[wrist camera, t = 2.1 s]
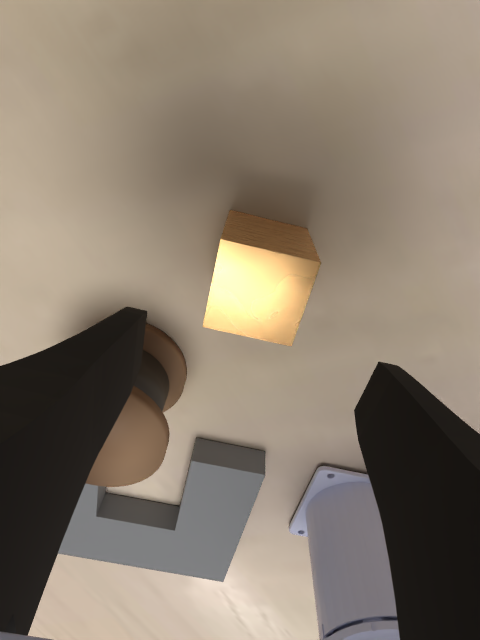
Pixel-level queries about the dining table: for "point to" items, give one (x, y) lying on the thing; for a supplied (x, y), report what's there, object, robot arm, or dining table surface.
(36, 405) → the robot arm
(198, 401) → the dining table surface
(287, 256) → the block
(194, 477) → the notched board
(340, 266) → the dining table surface
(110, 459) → the bobbin
